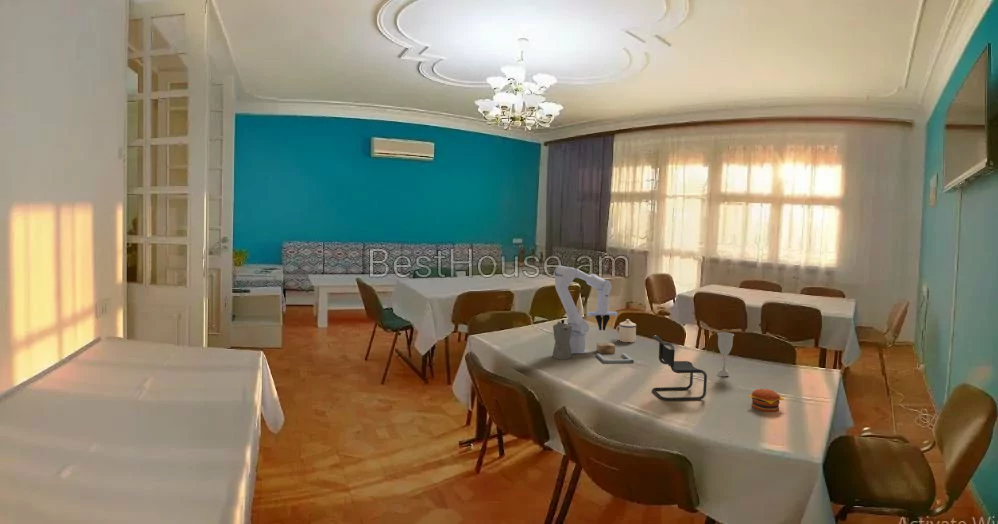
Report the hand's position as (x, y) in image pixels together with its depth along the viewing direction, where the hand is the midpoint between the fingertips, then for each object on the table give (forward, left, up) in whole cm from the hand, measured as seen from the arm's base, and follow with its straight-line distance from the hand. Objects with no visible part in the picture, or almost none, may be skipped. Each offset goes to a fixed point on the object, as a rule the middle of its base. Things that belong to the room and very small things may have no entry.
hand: (602, 329), depth 288 cm
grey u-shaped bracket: (0, -20, -9) cm, 22 cm away
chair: (+8, -72, -10) cm, 73 cm away
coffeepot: (-24, -14, -10) cm, 29 cm away
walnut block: (0, -7, -10) cm, 12 cm away
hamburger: (+34, -88, -10) cm, 95 cm away
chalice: (+39, -49, -10) cm, 63 cm away
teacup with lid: (+18, +16, -10) cm, 26 cm away
